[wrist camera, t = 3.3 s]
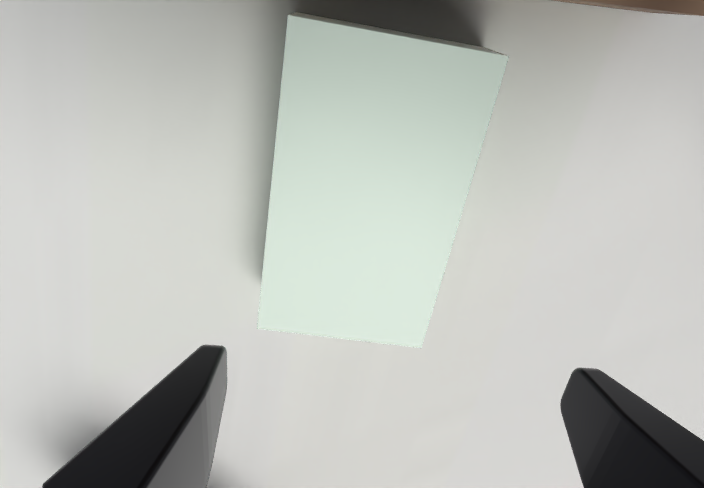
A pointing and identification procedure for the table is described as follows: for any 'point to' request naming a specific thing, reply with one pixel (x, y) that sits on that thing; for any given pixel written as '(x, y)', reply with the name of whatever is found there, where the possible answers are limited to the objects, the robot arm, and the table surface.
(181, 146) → the table surface
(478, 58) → the pale green rectangular block
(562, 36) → the table surface
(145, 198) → the table surface
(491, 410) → the table surface
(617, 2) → the boss board
